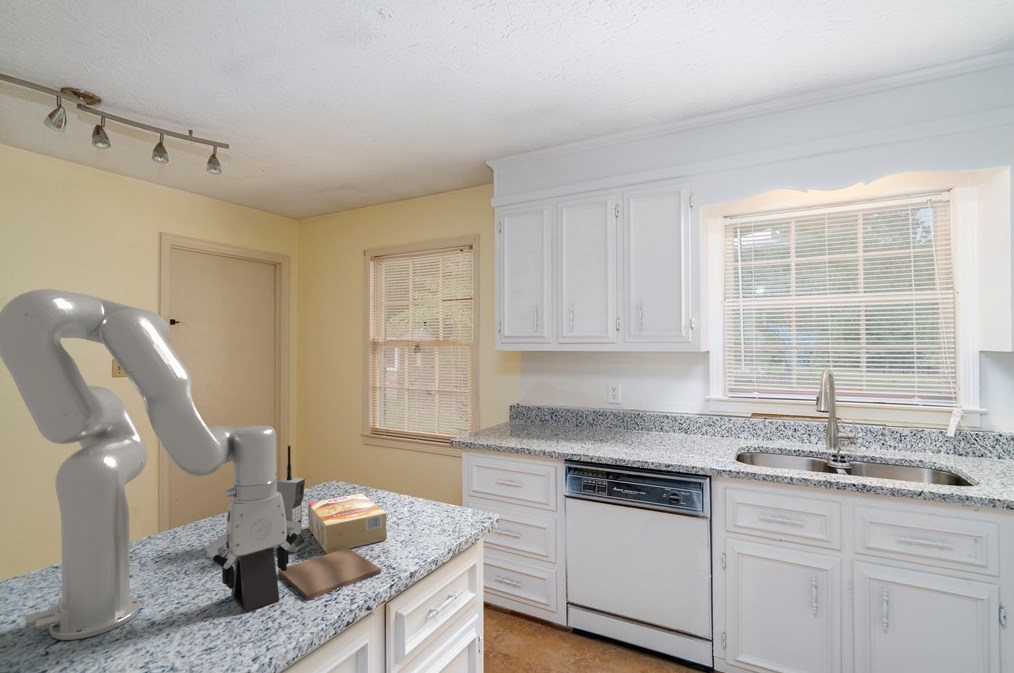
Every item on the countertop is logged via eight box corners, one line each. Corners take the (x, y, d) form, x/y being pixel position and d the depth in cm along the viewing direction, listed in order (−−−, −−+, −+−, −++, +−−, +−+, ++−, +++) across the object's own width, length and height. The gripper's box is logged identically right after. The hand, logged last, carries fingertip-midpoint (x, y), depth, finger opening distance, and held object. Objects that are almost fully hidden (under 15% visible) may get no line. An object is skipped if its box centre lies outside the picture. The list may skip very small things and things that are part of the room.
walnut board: (307, 600, 97) (307, 595, 97) (278, 574, 108) (278, 569, 108) (380, 573, 109) (380, 568, 109) (347, 551, 119) (347, 547, 119)
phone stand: (279, 601, 97) (279, 539, 97) (246, 613, 93) (246, 548, 93) (263, 585, 103) (263, 527, 103) (231, 595, 99) (231, 535, 99)
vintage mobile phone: (295, 553, 118) (295, 447, 118) (277, 551, 119) (277, 446, 119) (305, 546, 122) (305, 444, 122) (286, 545, 123) (286, 443, 123)
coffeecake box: (325, 524, 118) (307, 502, 134) (326, 555, 118) (307, 529, 134) (387, 511, 126) (362, 492, 142) (387, 540, 126) (363, 517, 142)
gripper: (211, 505, 89) (212, 601, 89) (307, 484, 102) (308, 568, 102) (200, 496, 95) (201, 586, 95) (292, 477, 107) (293, 557, 107)
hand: (256, 577), depth 98 cm, fingers open, 9 cm apart
